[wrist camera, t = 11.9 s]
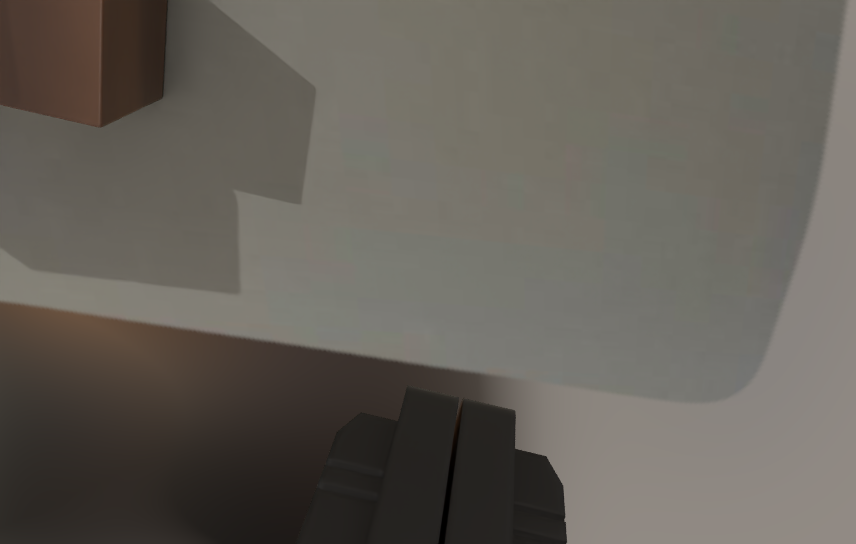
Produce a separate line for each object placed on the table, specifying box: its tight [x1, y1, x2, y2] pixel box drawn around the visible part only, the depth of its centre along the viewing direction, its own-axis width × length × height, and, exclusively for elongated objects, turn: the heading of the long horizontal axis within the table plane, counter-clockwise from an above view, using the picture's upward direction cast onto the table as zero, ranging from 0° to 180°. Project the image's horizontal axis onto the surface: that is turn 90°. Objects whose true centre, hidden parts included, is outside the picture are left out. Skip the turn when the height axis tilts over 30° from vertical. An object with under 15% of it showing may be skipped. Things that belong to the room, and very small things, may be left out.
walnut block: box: [0, 0, 167, 127], centre depth 28 cm, size 5×5×5 cm
